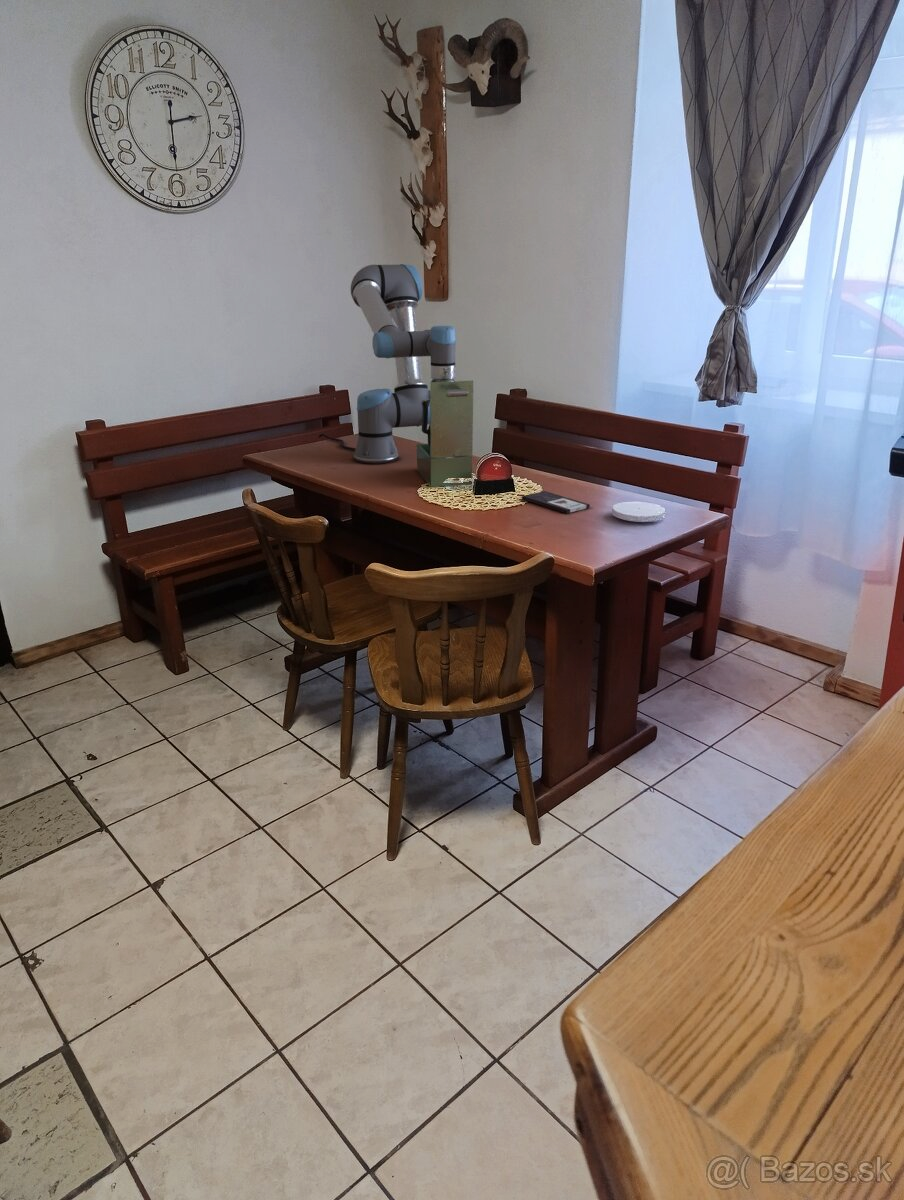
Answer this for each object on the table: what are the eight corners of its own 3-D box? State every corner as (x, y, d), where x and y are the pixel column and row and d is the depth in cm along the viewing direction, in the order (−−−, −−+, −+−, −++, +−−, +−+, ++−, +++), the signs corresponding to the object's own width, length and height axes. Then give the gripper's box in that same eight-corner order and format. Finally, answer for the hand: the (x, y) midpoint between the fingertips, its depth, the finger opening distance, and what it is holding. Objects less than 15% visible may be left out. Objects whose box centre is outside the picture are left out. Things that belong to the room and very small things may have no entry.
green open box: (417, 470, 267) (416, 444, 264) (455, 468, 270) (455, 442, 267) (431, 487, 248) (430, 458, 245) (471, 484, 251) (472, 456, 247)
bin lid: (429, 382, 236) (435, 386, 229) (472, 380, 238) (479, 384, 232) (430, 457, 245) (435, 463, 238) (471, 454, 248) (478, 461, 241)
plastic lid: (601, 513, 222) (602, 504, 221) (645, 508, 227) (646, 499, 226) (629, 528, 210) (630, 518, 209) (675, 522, 215) (676, 513, 214)
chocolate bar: (544, 490, 240) (589, 504, 227) (544, 494, 240) (589, 507, 227) (522, 496, 235) (566, 510, 222) (522, 499, 235) (566, 513, 222)
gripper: (414, 382, 242) (416, 459, 251) (476, 380, 246) (475, 455, 255) (410, 378, 248) (411, 453, 257) (470, 376, 253) (469, 450, 262)
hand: (443, 454), depth 256 cm, fingers closed on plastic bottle, 6 cm apart
